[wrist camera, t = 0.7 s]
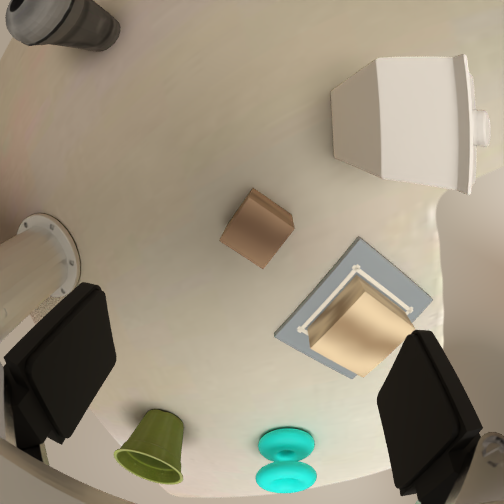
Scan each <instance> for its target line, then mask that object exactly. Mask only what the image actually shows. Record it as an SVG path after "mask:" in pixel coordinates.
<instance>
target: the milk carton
mask: <svg viewBox="0 0 504 504" xmlns="http://www.w3.org/2000/svg"><path fill="white" fill-rule="evenodd" d="M331 109H332V128H333V152H334V158H336V159H338V160H341V161H343V162H346V163H348V164H350V165H353V166H355V167H357V168H360V169H362V170H364V171H366V172H369V173H371V174H373V175H375V176H378V177H380V178H382V179H385V180H393V181H400V182H407V183H414V184H421V185H427V186H433V187H439V188H445V189H451V190H457V191H459V192H462V193H464V194H467V195H470V194H471V187H472V185H474V184H475V179H476V161H477V146H482V147H488V146H489V143H490V119H489V115H488V112H487V111H485V110H476V103H475V90H474V81H473V76H472V75H471V74H470V72H469V69H468V62H467V56H466V55H465V54H462V55H458V56H455V57H432V56H409V57H383V58H376V59H375V60H374V61H372V62H371V63H369V64H368V65H366V66H365V67H364V68H362V69H361V70H359V71H358V72H356V73H355V74H354V75H352V76H351V77H350V78H348V79H347V80H345V81H344V82H343V83H341V84H340V85H339V86H337V87H336V88H335V89H333V90H332V91H331Z"/></svg>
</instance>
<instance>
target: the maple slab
mask: <svg viewBox="0 0 504 504" xmlns="http://www.w3.org/2000/svg"><path fill="white" fill-rule="evenodd" d="M307 329H308V336H309V344H310V349H312V350H314V351H315V352H317V353H319V354H321V355H323V356H324V357H326V358H328V359H330V360H332V361H333V362H335V363H337V364H339V365H341V366H343V367H344V368H346V369H348V370H350V371H352V372H354V373H356V374H358V375H359V376H361V377H365V376H366V375H367V374H368V373H369V372H370V371H372V370H373V369H374V368H375V367H376V366H377V365H378V364H379V363H380V362H382V361H383V360H384V359H385V358H386V357H387V356H388V355H389V354H390V353H391V352H392V351H393V350H394V349H395V348H397V347H398V346H399V345H400V344H401V343H402V342H403V341H404V340H405V338H406V337H407V335H409V334H411V333H412V332H413V331H414V330H415V328H414V326H413V324H412V323H411V321H410V319H409V318H408V316H407V314H406V313H405V311H404V310H402V309H401V308H400V307H399V306H397V305H396V304H395V303H393V302H392V301H391V300H389V299H388V298H387V297H386V296H384V295H383V294H382V293H380V292H379V291H378V290H376V289H375V288H374V287H372V286H371V285H370V284H368V283H367V282H366V281H364V280H363V279H362V278H360V277H359V276H358V275H356V276H355V277H354V278H353V279H352V280H351V281H350V282H349V284H348V285H347V286H346V287H345V288H344V289H343V290H342V291H341V293H340V294H339V295H338V296H337V297H336V298H335V299H334V300H333V301H332V303H331V304H330V305H329V306H328V307H327V308H326V309H325V310H324V311H323V312H322V313H321V314H320V315H319V317H318V318H317V319H316V320H315V321H314V322H313V323H312V324H311V325H310V326H309V327H308V328H307Z"/></svg>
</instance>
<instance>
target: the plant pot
mask: <svg viewBox="0 0 504 504" xmlns="http://www.w3.org/2000/svg"><path fill="white" fill-rule="evenodd" d="M183 429H184V427H183V423H182V421H181V420H180V419H179V418H178V417H176V416H175V415H173V414H171V413H169V412H163V411H161V410H150V411H148V412H147V413H146V415H145V416H144V418H143V419H142V420H141V422H140V423H139V425H138V426H137V428H136V429H135V431H134V432H133V433H132V435H131V436H130V438H129V439H128V440H127V441H126V442H125V443H124V444H123V445H122V447H121V448H120V449H117V450H116V451H115V452H114V458H115V459H116V461H117V462H118V463H119V464H120V465H121V466H122V467H124V468H125V469H126V470H128V471H129V472H131V473H133V474H135V475H136V476H139V477H141V478H143V479H146V480H149V481H152V482H155V483H160V484H178V483H181V482H182V481H183V475H182V474H181V462H180V461H181V449H182V439H183Z"/></svg>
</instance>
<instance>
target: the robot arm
mask: <svg viewBox="0 0 504 504" xmlns="http://www.w3.org/2000/svg"><path fill="white" fill-rule="evenodd" d="M79 277H80V260H79V255H78V252H77V249H76V246H75V244H74V241H73V239H72V237H71V236H70V234H69V233H68V231H67V230H66V229H65V227H64V226H63V225H62V224H61V223H60V222H59V221H57V220H56V219H55V218H53V217H51V216H50V215H46V214H41V213H38V214H34V215H31V216H29V217H27V218H26V219H25V220H23V222H22V223H21V225H20V226H19V229H18V231H17V235H16V236H14V237H12V238H11V239H9V240H7V241H5V242H3V243H2V244H0V342H1V341H2V340H3V339H4V338H5V337H6V336H7V335H8V334H9V333H10V332H11V331H12V330H13V329H14V328H15V327H16V326H18V325H19V324H20V323H21V322H22V321H23V320H24V319H25V318H26V317H27V316H28V315H29V314H30V313H31V312H33V311H34V310H37V309H38V308H39V305H40V304H41V303H42V302H44V301H45V300H46V299H47V298H48V297H49V296H51V297H63V296H66V295H67V294H68V295H67V296H66V297H65V298H64V299H63V300H62V301H61V302H59V303H58V304H57V305H56V306H55V307H54V308H53V309H52V310H51V311H50V312H49V313H48V314H47V315H46V316H44V317H43V318H42V319H41V320H40V321H39V322H38V323H37V324H36V325H35V326H34V327H33V328H32V329H31V330H30V331H29V332H28V333H27V334H26V335H25V336H24V337H23V338H22V339H21V340H20V341H19V342H18V343H17V344H16V345H15V346H14V347H13V348H12V349H11V350H10V351H9V352H8V353H7V354H6V355H5V356H4V359H5V361H6V365H5V366H4V367H3V366H2V364H1V362H0V504H135V503H133V502H130V501H127V500H124V499H121V498H119V497H116V496H113V495H111V494H108V493H106V492H103V491H101V490H98V489H96V488H93V487H91V486H89V485H87V484H84V483H82V482H80V481H78V480H75V479H74V478H72V477H69V476H67V475H65V474H63V473H61V472H59V471H58V470H56V469H53V468H52V467H50V466H49V462H48V458H47V453H46V449H45V444H44V441H45V439H46V438H47V436H48V438H50V439H52V440H54V441H55V442H57V443H59V444H62V443H63V442H64V440H65V438H69V437H71V435H72V434H73V432H74V430H75V429H76V427H77V425H78V424H79V422H80V420H81V419H82V417H83V415H84V413H85V412H86V410H87V408H88V407H89V405H90V404H91V402H92V400H93V399H94V397H95V396H96V394H97V392H98V391H99V389H100V387H101V386H102V384H103V383H104V381H105V379H106V378H107V376H108V375H109V373H110V372H111V370H112V368H113V367H114V365H115V362H116V352H115V347H114V342H113V337H112V332H111V327H110V321H109V315H108V309H107V302H106V296H105V293H104V292H103V291H102V290H101V288H100V286H98V285H94V284H90V283H86V282H82V283H81V284H79V285H78V286H77V287H76V285H77V283H78V280H79ZM75 287H76V288H75ZM74 288H75V289H74ZM73 289H74V290H73ZM72 290H73V291H72ZM71 291H72V292H71ZM377 405H378V409H379V413H380V418H381V422H382V426H383V430H384V435H385V439H386V444H387V448H388V453H389V458H390V463H391V468H392V472H393V478H394V483H395V486H396V488H399V489H400V495H401V496H405V495H411V494H416V493H417V497H418V500H417V502H416V504H504V436H503V435H502V434H500V433H497V432H488V433H486V434H484V435H483V436H482V437H481V436H480V434H479V432H480V431H481V430H482V428H483V427H482V425H481V423H480V420H479V418H478V416H477V414H476V412H475V410H474V408H473V406H472V404H471V402H470V400H469V398H468V396H467V394H466V392H465V390H464V388H463V386H462V384H461V382H460V380H459V378H458V376H457V374H456V373H455V371H454V369H453V367H452V365H451V364H450V362H449V360H448V358H447V356H446V355H445V353H444V351H443V349H442V347H441V346H440V344H439V342H438V341H437V339H436V337H435V336H434V334H433V333H432V331H426V330H414V331H413V332H412V333H411V334H409V335H407V337H406V338H405V341H404V343H403V345H402V347H401V349H400V352H399V354H398V356H397V358H396V360H395V362H394V364H393V366H392V368H391V370H390V372H389V374H388V376H387V378H386V380H385V382H384V384H383V386H382V388H381V389H380V391H379V393H378V396H377Z"/></svg>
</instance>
